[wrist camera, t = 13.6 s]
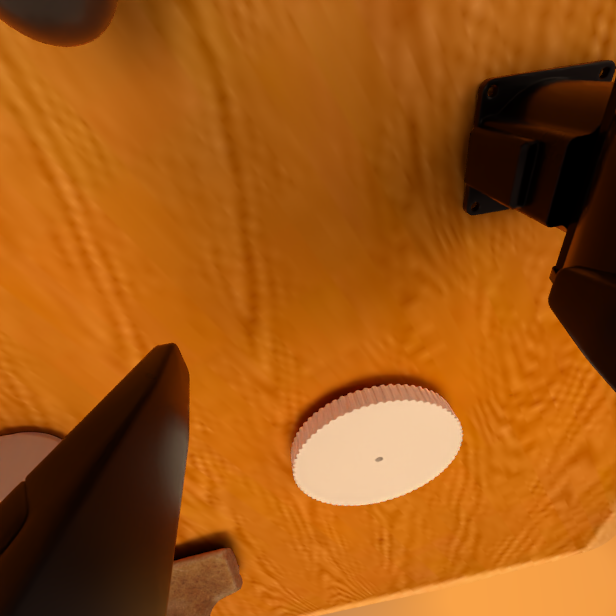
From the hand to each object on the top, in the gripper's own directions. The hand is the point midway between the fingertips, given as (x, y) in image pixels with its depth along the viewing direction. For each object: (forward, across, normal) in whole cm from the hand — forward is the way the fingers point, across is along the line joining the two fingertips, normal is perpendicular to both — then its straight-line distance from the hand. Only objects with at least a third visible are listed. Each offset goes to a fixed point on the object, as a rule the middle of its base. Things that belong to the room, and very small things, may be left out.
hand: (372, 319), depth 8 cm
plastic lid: (+12, -3, +22) cm, 25 cm away
